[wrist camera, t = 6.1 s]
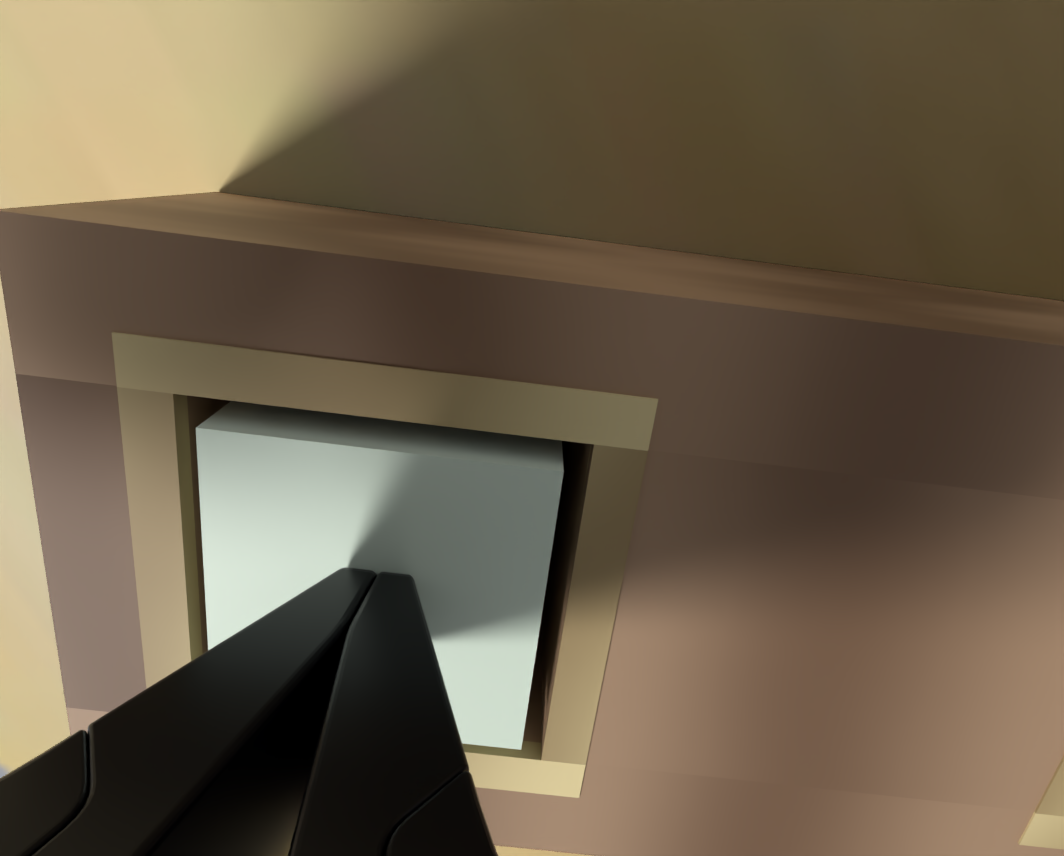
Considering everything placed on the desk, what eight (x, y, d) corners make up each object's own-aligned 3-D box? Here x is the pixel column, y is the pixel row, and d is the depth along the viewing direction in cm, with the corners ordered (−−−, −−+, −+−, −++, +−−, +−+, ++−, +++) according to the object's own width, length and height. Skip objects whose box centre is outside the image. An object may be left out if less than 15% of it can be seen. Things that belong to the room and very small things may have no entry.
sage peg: (556, 357, 12) (564, 471, 8) (528, 554, 13) (521, 750, 9) (327, 329, 12) (195, 427, 7) (323, 530, 13) (211, 717, 9)
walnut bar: (1364, 340, 12) (1892, 451, 7) (1160, 699, 15) (1445, 946, 10) (215, 191, 11) (-12, 210, 7) (232, 594, 14) (79, 803, 10)
